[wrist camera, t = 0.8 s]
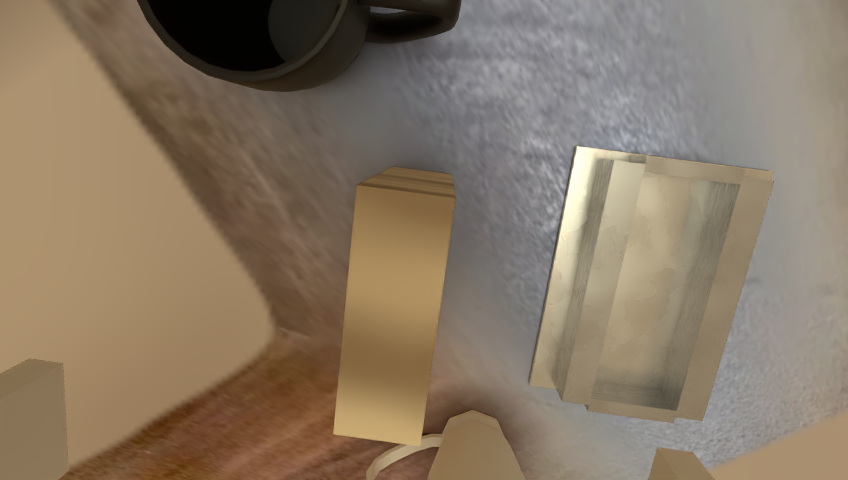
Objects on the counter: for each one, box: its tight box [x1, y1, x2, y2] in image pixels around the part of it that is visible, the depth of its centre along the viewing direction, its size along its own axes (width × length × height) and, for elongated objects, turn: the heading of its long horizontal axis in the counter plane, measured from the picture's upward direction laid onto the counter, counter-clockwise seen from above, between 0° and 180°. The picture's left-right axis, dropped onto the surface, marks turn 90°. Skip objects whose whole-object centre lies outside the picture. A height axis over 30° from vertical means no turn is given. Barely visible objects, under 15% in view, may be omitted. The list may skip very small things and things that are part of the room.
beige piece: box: [529, 146, 774, 423], centre depth 26 cm, size 15×11×3 cm
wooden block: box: [333, 167, 456, 446], centre depth 22 cm, size 10×4×11 cm, turn 173°
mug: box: [137, 0, 461, 92], centre depth 20 cm, size 8×12×10 cm
